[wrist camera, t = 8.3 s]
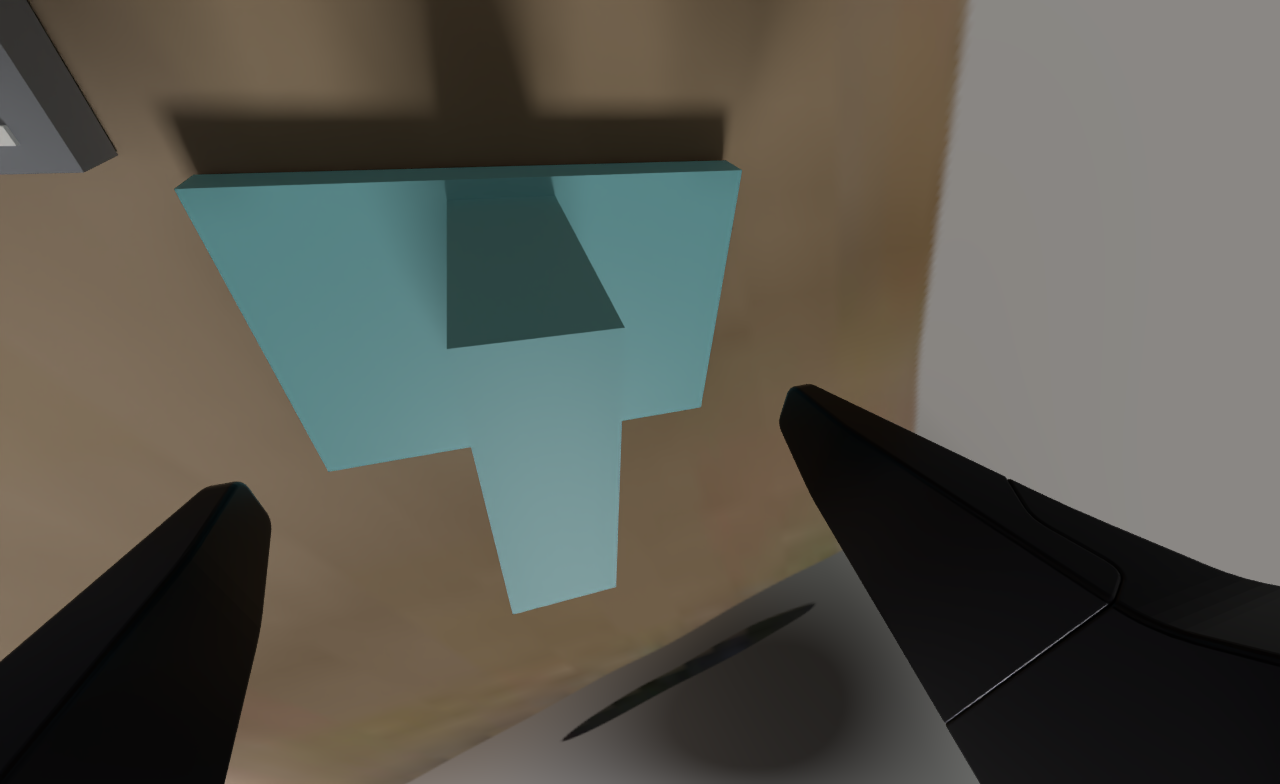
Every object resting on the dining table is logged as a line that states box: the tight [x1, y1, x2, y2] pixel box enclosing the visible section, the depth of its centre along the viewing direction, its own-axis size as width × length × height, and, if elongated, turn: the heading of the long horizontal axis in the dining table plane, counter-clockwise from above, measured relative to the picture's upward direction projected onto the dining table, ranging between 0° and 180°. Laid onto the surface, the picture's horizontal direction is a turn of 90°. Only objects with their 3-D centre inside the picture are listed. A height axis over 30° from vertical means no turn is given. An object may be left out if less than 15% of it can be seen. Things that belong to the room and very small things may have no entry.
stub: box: [174, 160, 742, 614], centre depth 9 cm, size 10×7×6 cm
